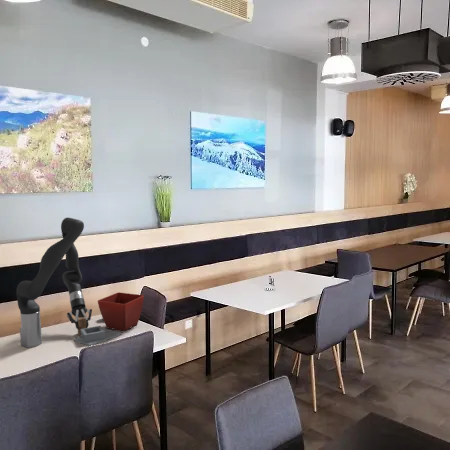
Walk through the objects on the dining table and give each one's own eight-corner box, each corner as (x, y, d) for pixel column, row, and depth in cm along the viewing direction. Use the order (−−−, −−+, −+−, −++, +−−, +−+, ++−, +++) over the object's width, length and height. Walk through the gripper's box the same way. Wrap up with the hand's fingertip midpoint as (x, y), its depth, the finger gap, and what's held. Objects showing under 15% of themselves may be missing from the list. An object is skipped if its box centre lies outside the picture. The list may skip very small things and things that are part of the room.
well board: (90, 346, 228) (89, 336, 228) (73, 340, 237) (73, 331, 236) (121, 334, 244) (120, 325, 244) (104, 329, 253) (103, 321, 252)
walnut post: (79, 335, 244) (78, 319, 243) (77, 333, 248) (76, 317, 247) (86, 334, 246) (85, 318, 245) (85, 332, 250) (84, 316, 249)
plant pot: (125, 333, 246) (124, 303, 244) (98, 329, 254) (96, 300, 252) (145, 323, 263) (144, 295, 261) (119, 319, 271) (118, 292, 269)
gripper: (64, 299, 248) (69, 326, 239) (90, 295, 255) (96, 322, 245) (63, 306, 253) (68, 333, 244) (89, 302, 260) (95, 328, 251)
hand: (82, 327), depth 245 cm, fingers closed on walnut post, 4 cm apart
